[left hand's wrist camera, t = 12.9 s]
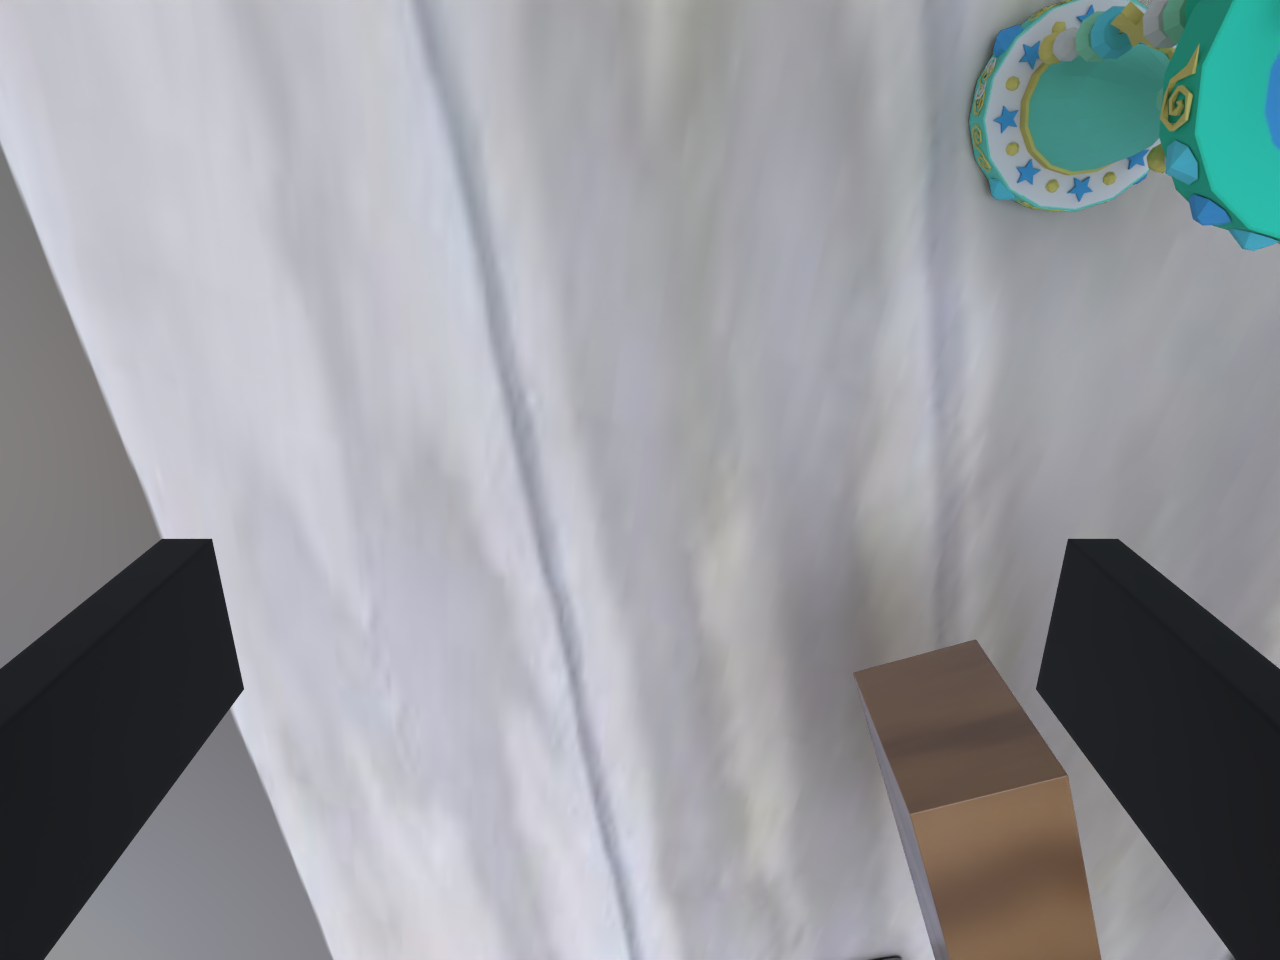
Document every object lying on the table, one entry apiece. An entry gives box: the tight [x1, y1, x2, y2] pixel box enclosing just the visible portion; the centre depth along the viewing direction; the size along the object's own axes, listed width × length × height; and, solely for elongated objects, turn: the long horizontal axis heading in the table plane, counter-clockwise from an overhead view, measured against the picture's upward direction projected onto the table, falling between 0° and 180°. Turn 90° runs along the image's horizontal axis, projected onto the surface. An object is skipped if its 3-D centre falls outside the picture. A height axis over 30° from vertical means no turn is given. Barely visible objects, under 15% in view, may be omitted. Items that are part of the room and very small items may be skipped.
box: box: [854, 640, 1101, 960], centre depth 39 cm, size 24×6×9 cm, turn 19°
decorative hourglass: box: [969, 0, 1280, 251], centre depth 29 cm, size 11×11×30 cm
